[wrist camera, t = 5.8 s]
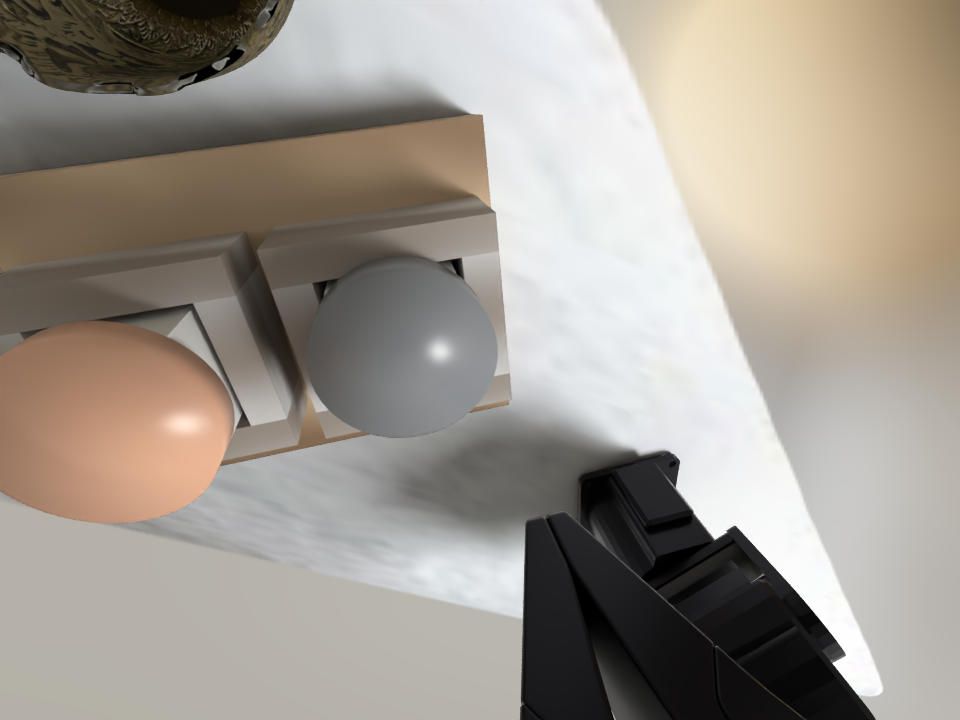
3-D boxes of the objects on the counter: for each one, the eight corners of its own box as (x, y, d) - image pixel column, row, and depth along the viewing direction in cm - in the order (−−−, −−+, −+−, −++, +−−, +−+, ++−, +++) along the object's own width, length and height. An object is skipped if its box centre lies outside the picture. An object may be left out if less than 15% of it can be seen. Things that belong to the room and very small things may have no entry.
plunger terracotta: (278, 409, 17) (251, 496, 13) (120, 442, 16) (43, 542, 12) (218, 268, 14) (162, 327, 10) (23, 299, 13) (-115, 375, 10)
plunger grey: (478, 355, 19) (504, 417, 15) (344, 382, 18) (336, 454, 14) (461, 221, 16) (488, 256, 12) (301, 246, 15) (278, 292, 12)
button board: (498, 382, 23) (527, 446, 18) (164, 450, 21) (111, 540, 16) (471, 114, 17) (505, 117, 12) (-6, 176, 15) (-163, 204, 10)
